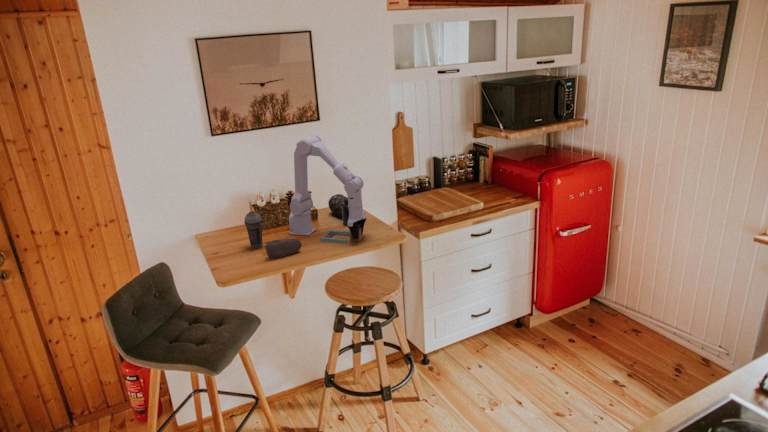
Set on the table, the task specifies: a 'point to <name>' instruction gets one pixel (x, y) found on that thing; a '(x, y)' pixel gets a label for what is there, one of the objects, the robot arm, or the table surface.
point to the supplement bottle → (345, 211)
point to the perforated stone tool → (282, 247)
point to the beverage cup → (254, 228)
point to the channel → (329, 238)
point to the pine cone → (336, 205)
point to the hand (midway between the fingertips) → (357, 236)
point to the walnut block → (358, 237)
